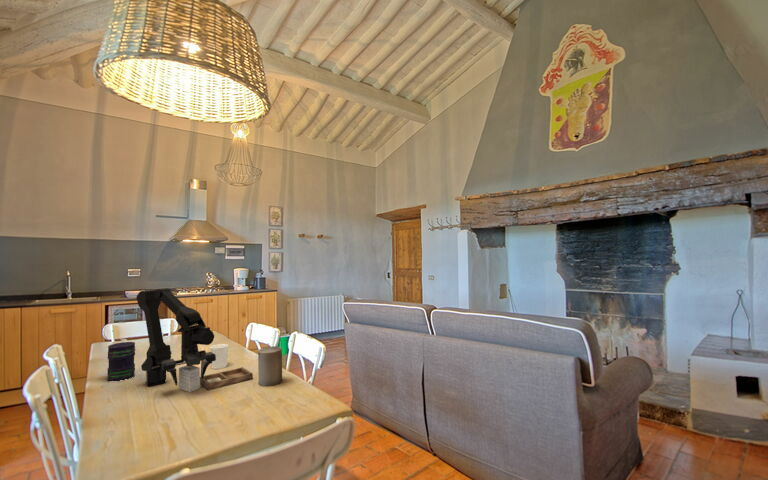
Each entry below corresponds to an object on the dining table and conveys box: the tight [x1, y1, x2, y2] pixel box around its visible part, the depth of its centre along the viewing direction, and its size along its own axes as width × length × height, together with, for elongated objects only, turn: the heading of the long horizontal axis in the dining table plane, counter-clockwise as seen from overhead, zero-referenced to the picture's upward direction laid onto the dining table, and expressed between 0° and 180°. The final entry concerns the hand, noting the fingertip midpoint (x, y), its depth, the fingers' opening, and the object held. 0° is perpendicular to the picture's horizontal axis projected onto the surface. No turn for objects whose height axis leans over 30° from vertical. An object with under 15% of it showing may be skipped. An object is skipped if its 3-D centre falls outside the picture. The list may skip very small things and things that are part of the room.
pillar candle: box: [257, 345, 283, 387], centre depth 148 cm, size 10×10×15 cm
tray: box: [200, 367, 254, 391], centre depth 150 cm, size 18×12×2 cm, turn 132°
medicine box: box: [178, 364, 201, 393], centre depth 142 cm, size 8×4×9 cm, turn 58°
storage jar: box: [107, 341, 136, 382], centre depth 156 cm, size 10×10×15 cm
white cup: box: [209, 343, 229, 370], centre depth 170 cm, size 8×8×10 cm
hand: (189, 382), depth 142 cm, fingers open, 9 cm apart
